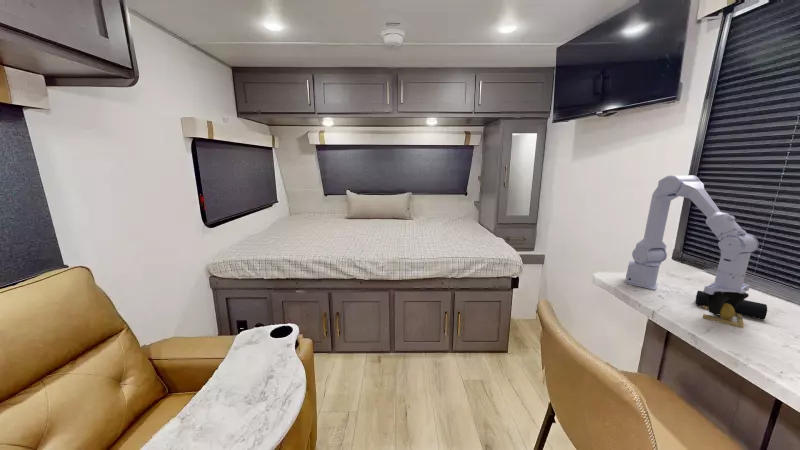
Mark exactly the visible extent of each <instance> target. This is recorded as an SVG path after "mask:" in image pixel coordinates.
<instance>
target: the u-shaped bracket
mask: <svg viewBox="0 0 800 450" xmlns="http://www.w3.org/2000/svg"><path fill="white" fill-rule="evenodd" d="M702 309H705V310H708V311H709V308H708V306H707V305H703V306H702ZM734 317H735V318H736V321H733V320H726V319H723V318H722V317H718V316H715V315H714V316H713V315H709V314H707V313H703V314H702V318H703V319H706V320H709V321H714V322H718V323H721V324H725V325H729V326H732V327H736V328H741V329H744V328H745V327H744V326H745V324H744V323H745V322H744V319H743V315H742V314H741V313H737V312H735V315H734Z"/></svg>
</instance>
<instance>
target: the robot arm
mask: <svg viewBox="0 0 800 450" xmlns="http://www.w3.org/2000/svg"><path fill="white" fill-rule="evenodd" d="M679 197H682V198H686V199H689V200H691V202H693V203H692V204H694V205H695V206H696V207H697V209H699V211H701V213H703V214H704V215H705V217H706V220H705V224H706V225H707V226H708V228H709V229H710V231H712V233H713V234H714V235H715V237H716V238H717V239H718V240H719V241H718V243H717V244H718V248H719V250H720V258H719V262H718V266H717V271H716V274H715V278H714V282H712V283H710V284H709V285H706V286H704V288H703V293H704V294H705V296H706V298H707V302H708V308H709V310H708V312H709V313H710V314H712V315H714V314H715V315H714V316H718V315H719V313H720V311H721V309H722V306H723V305H724V304H725V303H728V304H731V305H732V306H733V308H734V310H735V309H736V308H737V306H738V305H739V304H740V303H741V302H742V301H743V300H746V299H747V298H748V297H749V296H750V295H749V293H747V292H749V290H750V286H751V285H750V284H748V283H744V280H745V276H746V273H747V270H748V265H749V262H750V259H751V255H752V253H753V252H754V253H755V251H757V250H758V248H759V246H760V245H759V241H758V239H757V237H756V236H755V235H753V234H750V233H747V231H746V230H745V229H743V228H741V226H740V225H739V223H738V222H736V221H735V220H736V217H735V216H734V215H733V214H732V215H730V213H727V212H723V211H721V210H720V208H719V207H718V206H717V205H716V203H715V202H714V201H713V199H712V198H711V196H710V195H709V193H708V192H707V191H706V189H705V184H704V183H703V182H702V181H701V180H700V178H699V177H698V176H696V175H693V174H689V175H667V176H664V177H663V178H662V179H660V180H659V181H658V183H657V187H656V188H655V190H654V191H653V193H652V196H651V199H650V205H649V209H648V215H647V221H646V225H645V230H644V236H643V239H641V240H640V241H638V242H637V243H636V244H635V247H634V249H633V250H632V254H631V255H632V256H631V257H632V260H629V262H628V265H627V271H626V275H625V282H624V283H625V284H628V285H632V286H636V287H640V288H644V289H649V290H653V291H656V290H657V287H658V282H657V280H658V275H659V272H660V271H659V270H660V266H661V265H662V262H664V261H666V259H667V257H668V254H667V253H668V252H667V245H666V244H665V242H664V241H663V240H664V234H665V230H666V225H667V220H668V214H669V210H670V206H671V201H673V200H674V199H677V198H679ZM722 292H723V294H722Z"/></svg>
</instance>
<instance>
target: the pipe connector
mask: <svg viewBox="0 0 800 450" xmlns="http://www.w3.org/2000/svg"><path fill="white" fill-rule="evenodd" d="M703 291H704V290H703ZM703 291H702V290H697V292H696V295H695V303H694V304H695V306H701V307H703V305H707V306H708V302H707V298H706V296H705V294H704V293H703ZM722 294H723V292H722ZM735 312H737V313H741V314H742V316H743V317H744V316H745V317H748V318H753V319H757V320H760V321H761V320H762V321H765V319H766V317H767V313H768V305H767V304H766V303H761V302H757V301H751V300H747V299H744V300H743V301H742V302H741V303H740V304H739V305H738V306H737V308H736V309H735Z"/></svg>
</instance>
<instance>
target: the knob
mask: <svg viewBox="0 0 800 450" xmlns="http://www.w3.org/2000/svg"><path fill="white" fill-rule="evenodd" d="M713 315H714V316H716V315H715V314H713ZM718 315H719V316H720V318H722V319H726V320H730V321H732V320H733V319H734V317H735V316H734V315H735V310H734V308H733V306H732V305H731V304H728V303H725V304H724V305H723V306H722V309H721V311H720V313H719V314H718Z"/></svg>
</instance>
